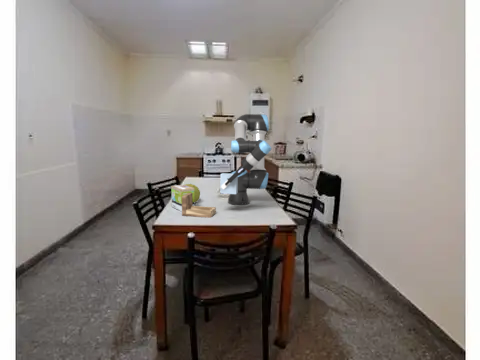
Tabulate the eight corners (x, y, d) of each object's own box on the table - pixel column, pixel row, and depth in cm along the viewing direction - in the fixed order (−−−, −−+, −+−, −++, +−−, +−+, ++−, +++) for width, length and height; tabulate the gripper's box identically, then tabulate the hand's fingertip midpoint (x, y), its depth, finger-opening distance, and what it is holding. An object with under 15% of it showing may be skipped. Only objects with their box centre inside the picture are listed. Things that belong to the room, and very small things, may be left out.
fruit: (193, 206, 227) (182, 187, 224) (180, 211, 236) (169, 192, 233) (207, 195, 239) (197, 177, 237) (194, 200, 248) (184, 182, 245)
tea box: (171, 207, 224) (170, 185, 222) (184, 205, 230) (184, 184, 228) (181, 211, 212) (180, 188, 210) (195, 209, 218) (195, 187, 216)
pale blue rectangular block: (222, 192, 212) (222, 173, 210) (237, 192, 210) (237, 173, 208) (220, 193, 207) (220, 174, 205) (236, 194, 205) (236, 174, 204)
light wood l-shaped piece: (188, 211, 214) (188, 192, 212) (215, 212, 211) (216, 194, 209) (182, 215, 203) (181, 196, 201) (210, 217, 199) (210, 197, 197)
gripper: (251, 168, 194) (223, 194, 200) (256, 164, 212) (230, 189, 217) (242, 158, 195) (215, 185, 200) (247, 156, 212) (222, 180, 217)
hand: (223, 187), depth 209 cm, fingers closed on pale blue rectangular block, 4 cm apart
